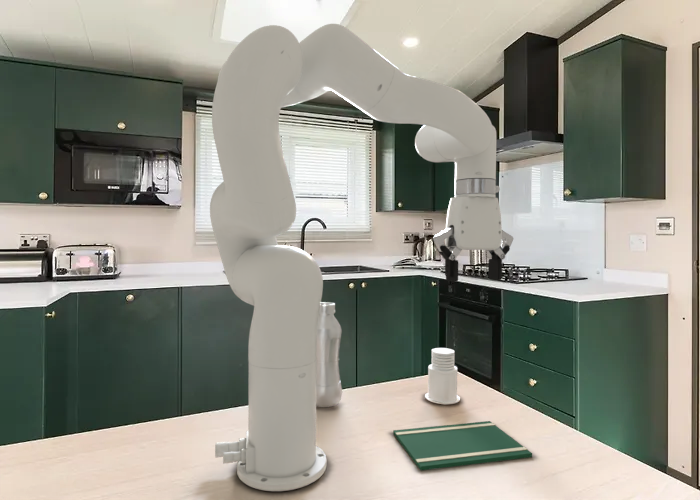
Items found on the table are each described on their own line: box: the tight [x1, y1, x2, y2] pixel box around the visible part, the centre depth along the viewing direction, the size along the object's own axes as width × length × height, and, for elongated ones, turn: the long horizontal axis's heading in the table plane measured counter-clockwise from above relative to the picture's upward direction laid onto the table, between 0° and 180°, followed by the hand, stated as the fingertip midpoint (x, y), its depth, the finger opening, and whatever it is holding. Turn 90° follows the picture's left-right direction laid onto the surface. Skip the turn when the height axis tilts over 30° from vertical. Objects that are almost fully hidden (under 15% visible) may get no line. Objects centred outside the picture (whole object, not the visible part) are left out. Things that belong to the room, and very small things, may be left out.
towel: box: [392, 420, 533, 471], centre depth 70 cm, size 18×12×1 cm, turn 103°
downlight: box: [424, 347, 461, 406], centre depth 90 cm, size 8×7×10 cm
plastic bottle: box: [316, 301, 343, 408], centre depth 86 cm, size 6×7×20 cm
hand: (473, 280), depth 84 cm, fingers open, 9 cm apart
